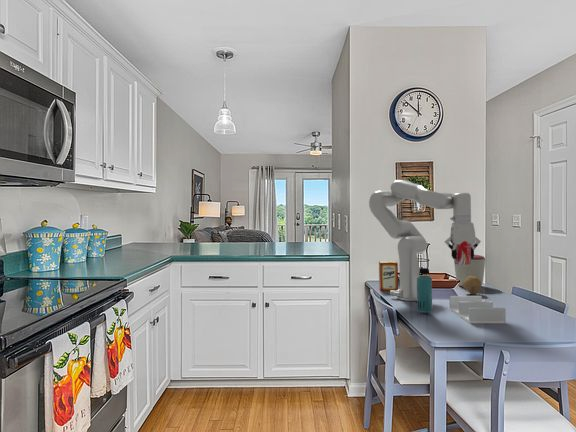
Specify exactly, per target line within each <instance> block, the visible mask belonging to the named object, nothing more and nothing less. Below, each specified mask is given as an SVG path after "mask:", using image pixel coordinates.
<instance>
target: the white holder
mask: <svg viewBox="0 0 576 432" xmlns="http://www.w3.org/2000/svg"><path fill="white" fill-rule="evenodd" d="M482 297H483V296H482V295H449V297H448V299H449V311H451V312H453V313H454V314H456V315H457V316H459V317H460V318H461V319H462V320H465V322H467V323H469V324H506V321H507V319H506V315H507V314H506V308H505V307H494V302H493V301H485V300H483V298H482Z"/></svg>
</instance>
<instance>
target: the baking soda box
mask: <svg viewBox="0 0 576 432" xmlns="http://www.w3.org/2000/svg"><path fill="white" fill-rule="evenodd" d="M398 265H399V264H398V261H394V260H388V261H381V260H380V261H378V288H379V291H380V292H390V291H396V290H398V289H399V275H398V274H399V270H398V269H399V266H398Z"/></svg>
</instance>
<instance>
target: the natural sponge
mask: <svg viewBox="0 0 576 432" xmlns="http://www.w3.org/2000/svg"><path fill="white" fill-rule="evenodd" d="M463 289H464V290H466V291H467V292H468V293H469V294H470V295H471V296H476V294H478V293H479V292H480V291H481V290H482V285H481V281H480V279H479V278H478V277H476V276H468V277H467V278H466V279H465V281H464V282H463Z"/></svg>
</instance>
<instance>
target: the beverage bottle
mask: <svg viewBox="0 0 576 432" xmlns="http://www.w3.org/2000/svg"><path fill="white" fill-rule="evenodd" d="M419 274H422V275H419V277H418V278H417V301H416V308H417V311H418V312H421V313H432V312H433V286H432V284H433V283H432V282H433V279H432V277H431V276H429V274H430V269H429V268H426V267H421V268H420V267H419ZM423 274H424V275H423ZM427 274H428V275H427Z"/></svg>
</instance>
